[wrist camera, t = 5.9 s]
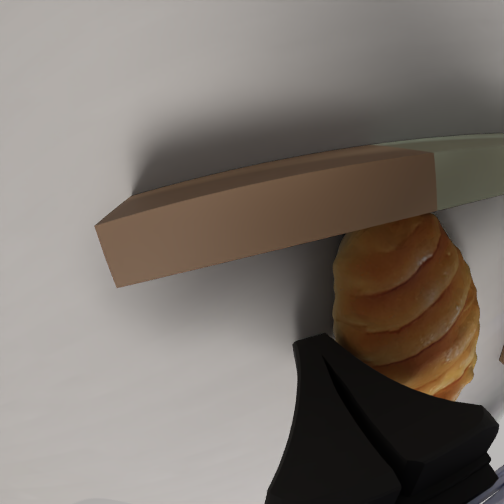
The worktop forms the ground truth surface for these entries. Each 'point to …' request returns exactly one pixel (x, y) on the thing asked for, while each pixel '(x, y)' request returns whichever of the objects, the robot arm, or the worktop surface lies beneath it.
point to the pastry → (407, 305)
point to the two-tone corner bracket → (295, 203)
